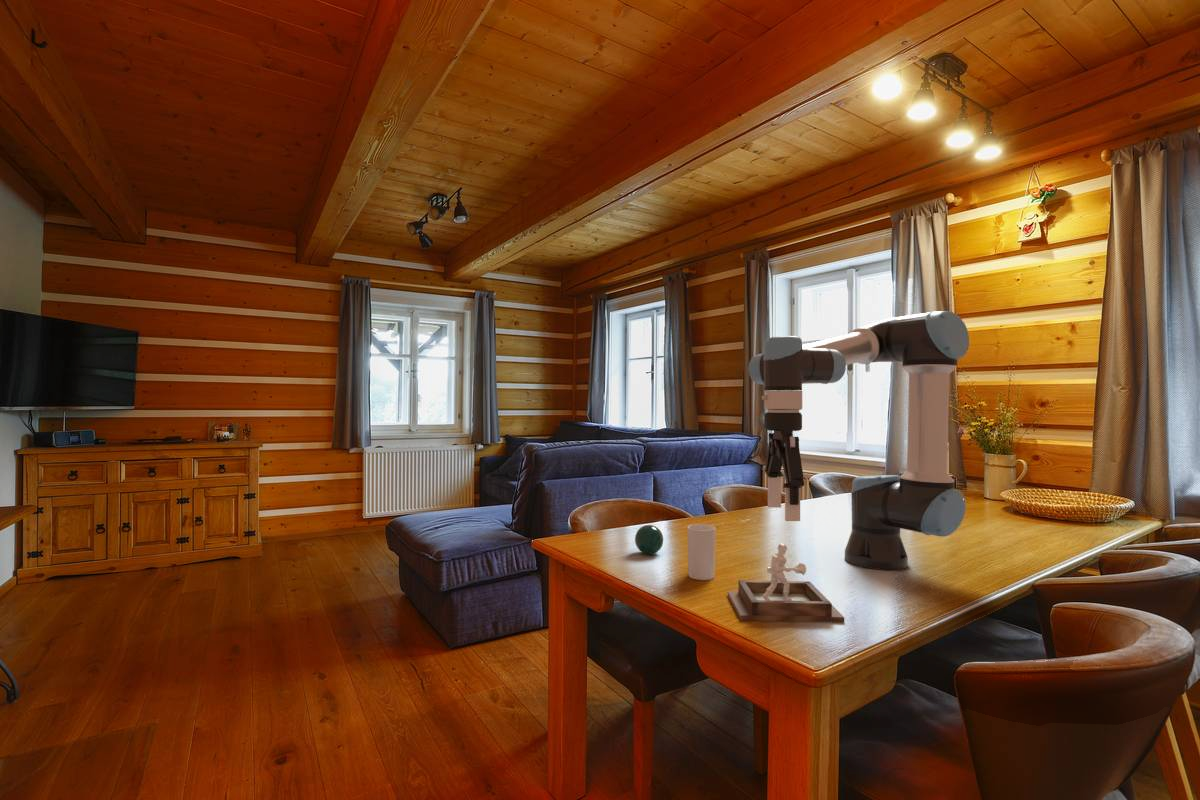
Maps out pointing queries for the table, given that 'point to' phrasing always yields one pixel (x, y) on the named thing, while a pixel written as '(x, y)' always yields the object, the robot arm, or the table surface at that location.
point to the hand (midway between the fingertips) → (783, 513)
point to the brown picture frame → (783, 603)
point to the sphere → (649, 539)
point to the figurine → (781, 573)
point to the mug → (701, 551)
